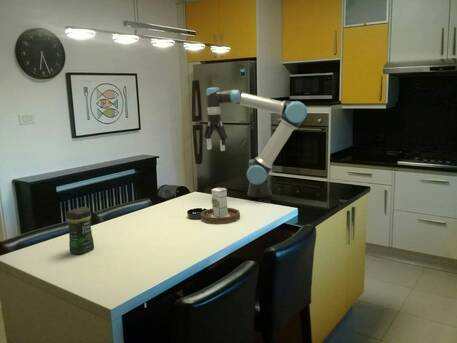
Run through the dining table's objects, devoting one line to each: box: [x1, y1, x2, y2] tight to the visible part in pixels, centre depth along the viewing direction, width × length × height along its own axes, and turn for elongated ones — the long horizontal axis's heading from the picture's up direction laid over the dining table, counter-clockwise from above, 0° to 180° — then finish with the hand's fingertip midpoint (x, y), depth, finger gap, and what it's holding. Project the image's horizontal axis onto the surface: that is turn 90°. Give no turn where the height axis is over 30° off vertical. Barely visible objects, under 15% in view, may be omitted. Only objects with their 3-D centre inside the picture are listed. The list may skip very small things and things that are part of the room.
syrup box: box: [211, 187, 228, 218], centre depth 208 cm, size 6×6×14 cm
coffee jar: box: [66, 206, 95, 255], centre depth 169 cm, size 10×8×19 cm
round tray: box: [200, 207, 241, 225], centre depth 209 cm, size 20×20×3 cm
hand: (216, 150), depth 242 cm, fingers open, 13 cm apart
